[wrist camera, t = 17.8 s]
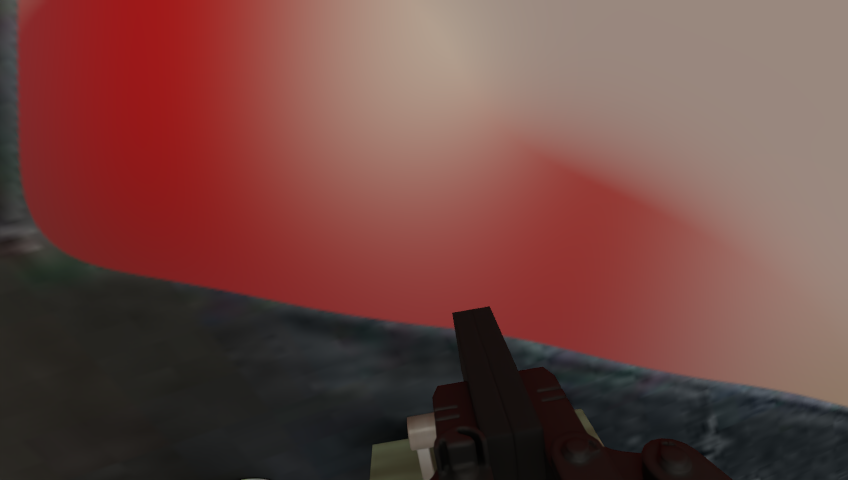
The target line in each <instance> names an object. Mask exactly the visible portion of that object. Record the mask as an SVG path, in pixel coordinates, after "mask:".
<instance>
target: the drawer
mask: <svg viewBox="0 0 848 480" xmlns="http://www.w3.org/2000/svg"><path fill="white" fill-rule="evenodd" d="M574 411H575V412H576V414H577V416H578V418H579V419H580V421H581V423H582V425H583V426H584V428H585V430H586V432H587V433H588V434H589V435H591V436H593V437H594V438H596V439H598V441H599V442H600V443H601V444H602V442H601V440H600V439H599V437H598V435H597V434H596V432H595V431H594V429H593V427H592V426H591V424H590V422H589V421H588V419H587V417H586V416H585V414H584V412H583V411H582V409H576V410H574ZM407 430H408V438H409V439H404V440H398V441H392V442H386V443H381V444H375V445H373V446H372V458H371V469H370V480H430V479H431V478H432V476H433V475H434V473H435V472H436V470H437V465H436V460H435V455H434V450H433V448H434V441H435V439H436V428H435V418H434V412H433V413H428V414H422V415H416V416H410V417H407ZM602 445H603V444H602ZM603 446H604V445H603Z"/></svg>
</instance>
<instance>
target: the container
mask: <svg viewBox="0 0 848 480" xmlns="http://www.w3.org/2000/svg"><path fill="white" fill-rule="evenodd" d="M243 480H267V479H258V478H251V479H243Z"/></svg>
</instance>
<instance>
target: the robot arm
mask: <svg viewBox="0 0 848 480" xmlns="http://www.w3.org/2000/svg"><path fill="white" fill-rule="evenodd" d="M452 314H453V320H454V326H455V332H456V339H457V345H458V351H459V357H460V363H461V369H462V374H463V379H464V382H458V383H452V384H446V385H441V386H437V389H436V391H435V393H434V395H433V397H432V398H433V408H434V418H435V428H436V439H435V441H434V448H433V450H434V455H435V460H436V465H437V470H436V472H435V473H434V475H433V476H432V478H431V479H430V480H732V479H731V478H730V477H729V476H727V475H726V474H725V473H724V472H722V471H721V470H720V469H719V468H717V467H716V466H715V465H714V464H713V463H711V462H710V461H709V460H708V459H706V458H705V457H704V456H703V455H701V454H700V453H699V452H698V451H696V450H695V449H693V448H692V447H690V446H688V445H687V444H685V443H682V442H679V441H676V440H673V439H662V438H661V439H656V440H651V441H650V442H649V443H647V444H646V445H644V448H643V451H642V453H632V452H622V451H617V450H612V449H609V448H607V447H604V446H603V445H602V444H601V443H600V442H599V441H598V439H596V438H594V437H593V436H591V435H589V434H588V433H587V432H586V430H585V428H584V426H583V425H582V423H581V421H580V419H579V418H578V416H577V414H576V412H575V411H574V409H573V407H572V405H571V404H570V402H569V400H568V398H566V395H565V393H564V391H563V390H562V389H561V386H560V384H559V383H558V381H557V379H556V377H555V376H554V375H553V374H552V373H550V372H549V371H548V370H546V369H545V368H544V367H539V368H533V369H527V370H522V371H518V370H517V367H516V365H515V363H514V361H513V358H512V356H511V354H510V352H509V349H508V347H507V345H506V342H505V340H504V338H503V336H502V333H501V331H500V329H499V327H498V324H497V322H496V320H495V317H494V315H493V313H492V311H491V308H490V307H484V308H478V309H472V310H466V311H461V312H455V313H452Z"/></svg>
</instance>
